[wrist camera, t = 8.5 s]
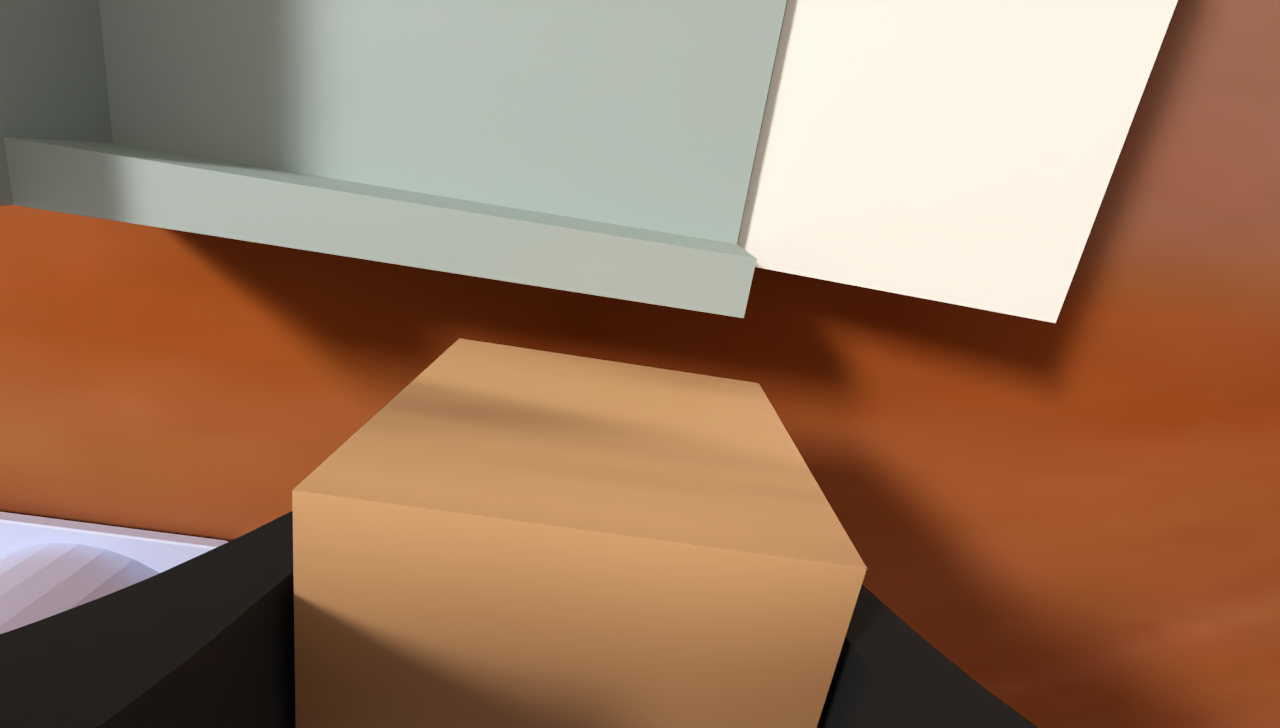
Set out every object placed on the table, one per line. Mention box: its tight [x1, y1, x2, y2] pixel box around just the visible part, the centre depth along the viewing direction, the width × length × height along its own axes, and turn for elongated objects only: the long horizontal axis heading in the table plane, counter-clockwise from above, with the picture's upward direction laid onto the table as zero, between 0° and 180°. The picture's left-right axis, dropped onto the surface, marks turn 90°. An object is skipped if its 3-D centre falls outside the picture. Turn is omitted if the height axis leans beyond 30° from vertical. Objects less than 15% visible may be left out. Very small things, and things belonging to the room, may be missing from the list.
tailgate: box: [737, 0, 1178, 323], centre depth 11 cm, size 9×2×6 cm
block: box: [292, 338, 867, 728], centre depth 8 cm, size 5×5×5 cm
